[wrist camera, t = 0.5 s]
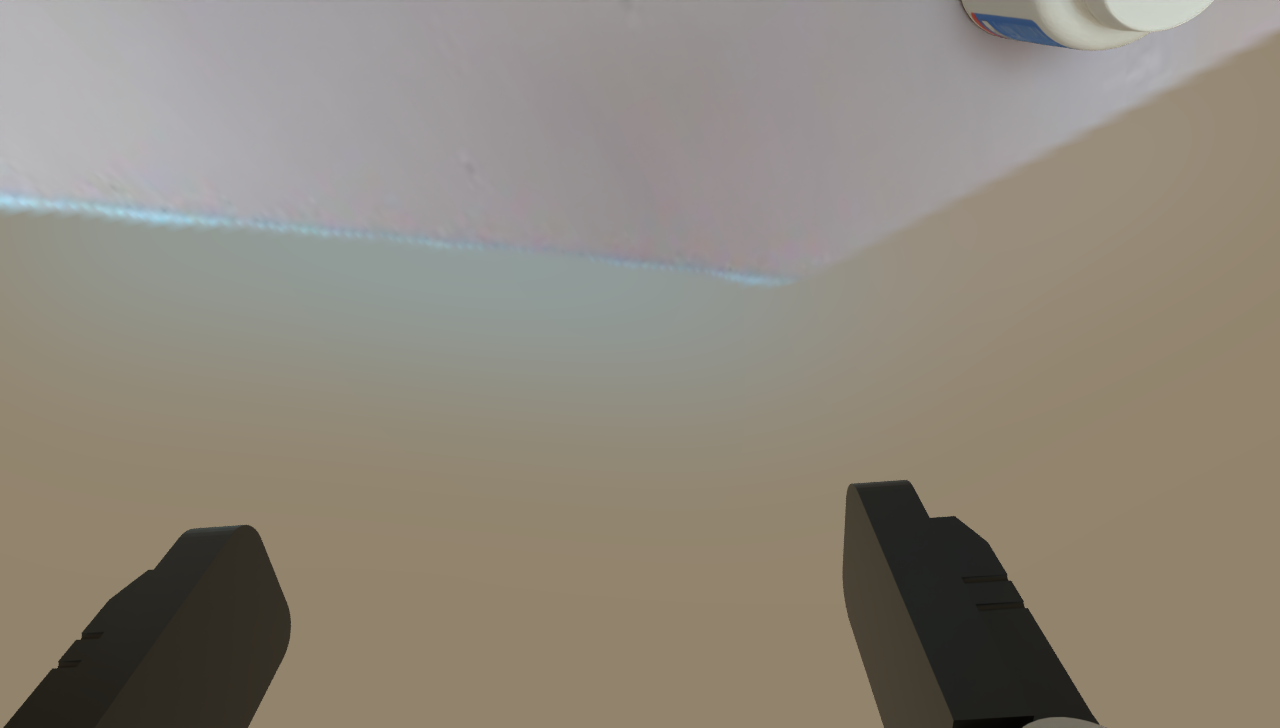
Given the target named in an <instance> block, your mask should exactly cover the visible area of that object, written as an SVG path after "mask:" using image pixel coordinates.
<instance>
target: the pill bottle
mask: <svg viewBox="0 0 1280 728" xmlns="http://www.w3.org/2000/svg"><path fill="white" fill-rule="evenodd" d="M1213 1H1214V0H962V3H963V6H964V8H965V10H966V12H967V13H968V15H969V16H970V18H971V19H972V20H973V21H974V23H976V24H977V25H978V26H979V27H980V28H982V29H983V30H985V31H987V32H988V33H991V34H993V35H996V36H999V37H1002V38H1007V39H1013V40H1019V41H1026V42H1032V43H1038V44H1043V45H1050V46H1058V47H1065V48H1071V49H1078V50H1107V49H1113V48H1117V47H1121V46H1124V45H1127V44H1129V43H1132V42H1134V41H1136V40H1138V39H1140V38H1142V37H1144V36H1145V35H1147V34H1149V33H1150V32H1157V31H1163V30H1168V29H1171V28H1174V27H1177V26H1179V25H1181V24H1183V23H1185V22H1187V21H1189V20H1191V19H1192V18H1194V17H1195V16H1197V15H1198V14H1200V13H1201V12H1202V11H1203V10H1205V9H1206V8H1207V7H1208V6H1209V5H1210V4H1211V3H1212V2H1213Z"/></svg>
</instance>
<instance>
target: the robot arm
mask: <svg viewBox="0 0 1280 728" xmlns="http://www.w3.org/2000/svg"><path fill="white" fill-rule="evenodd" d="M843 588H844V597H845V603H846V608H847V613H848V617H849V621H850V623H851V627H852V630H853V633H854V636H855V639H856V642H857V645H858V648H859V651H860V654H861V658H862V661H863V664H864V667H865V670H866V673H867V676H868V679H869V682H870V685H871V688H872V692H873V695H874V697H875V701H876V704H877V707H878V710H879V713H880V716H881V719H882V722H883V725H884V728H1106V727H1104V726H1100V725H1099V723H1098V722H1097V720H1096V719H1095V717H1094V716H1093V715H1092V713H1091V711H1090V710H1089V708H1088V706H1087V705H1086V703H1085V702H1084V700H1083V698H1082V697H1081V695H1080V693H1079V692H1078V691H1077V688H1076V687H1075V685H1074V683H1073V682H1072V680H1071V679H1070V677H1069V675H1068V674H1067V672H1066V670H1065V669H1064V667H1063V665H1062V664H1061V662H1060V661H1059V659H1058V658H1057V655H1056V654H1055V652H1054V651H1053V649H1052V647H1051V646H1050V644H1049V642H1048V641H1047V639H1046V637H1045V636H1044V634H1043V632H1042V631H1041V629H1040V628H1039V626H1038V624H1037V623H1036V621H1035V620H1034V618H1033V616H1032V614H1031V613H1030V611H1029V609H1028V608H1025V607H1024V604H1023V602H1024V601H1023V599H1022V598H1021V596H1020V595H1019V593H1018V591H1017V590H1016V588H1015V586H1014V585H1013V583H1012V581H1008V579H1007V573H1006V572H1005V570H1004V569H1003V567H1002V565H1001V563H1000V562H999V560H998V558H997V557H996V555H995V553H994V552H993V551H992V548H991V547H990V545H989V544H988V542H987V541H985V540H984V539H983V538H982V537H980V536H979V535H978V534H977V533H975V532H974V531H973V530H972V529H970V528H969V527H968V526H966V525H965V524H964V523H963V522H961V521H960V520H959V519H957V518H956V517H955V516H951V517H937V518H929V516H928V514H927V512H926V510H925V508H924V506H923V504H922V502H921V501H920V499H919V497H918V495H917V493H916V491H915V489H914V488H913V486H912V484H911V483H910V482H909V481H907V480H899V481H884V482H870V483H856V484H850V485H849V487H848V490H847V496H846V515H845V535H844V554H843ZM290 630H291V620H290V612H289V608H288V605H287V602H286V600H285V597H284V595H283V592H282V590H281V587H280V585H279V582H278V580H277V577H276V575H275V572H274V570H273V567H272V565H271V562H270V560H269V557H268V555H267V552H266V550H265V547H264V545H263V542H262V540H261V537H260V535H259V534H258V532H257V531H256V530H255V529H254V528H253V527H251V526H249V525H238V526H224V527H210V528H198V529H197V528H196V529H190V530H188V531H186V532H185V533H184V534H182V535H181V537H180V538H179V539H178V540H177V541H176V543H175V544H174V545H173V546H172V548H171V549H170V550H169V551H168V553H167V554H166V555H165V556H164V558H163V559H162V560H161V561H160V563H159V564H158V565H157V566H156V568H155V569H154V570H148V571H146V572H145V573H144V574H142V575H141V576H140V577H138V578H137V579H136V580H135V581H133V582H132V583H131V584H129V585H128V586H127V587H125V588H124V589H123V590H121V591H120V592H119V593H118V594H116V595H115V596H114V597H112V598H111V599H110V600H109V601H108V602H107V603H106V604H105V606H104V607H103V608H102V609H101V610H100V612H99V613H98V614H97V615H96V617H95V618H94V619H93V620H92V621H91V623H90V624H89V625H88V626H87V627H86V629H85V630H84V631H83V632H82V638H81V640H76V641H75V642H74V643H73V644H72V646H71V647H70V648H69V649H68V650H67V652H66V653H65V654H64V655H63V656H62V658H61V659H60V660H59V661H58V662H59V666H58V668H57V669H52V670H51V671H50V672H49V673H48V675H47V676H46V677H45V678H44V679H43V681H42V682H41V683H40V684H39V685H38V686H37V688H36V689H35V690H34V691H33V693H32V694H31V695H30V696H29V697H28V699H27V700H26V701H25V702H24V703H23V705H22V706H21V707H20V708H19V709H18V711H17V712H16V713H15V714H14V716H13V717H12V718H11V719H10V721H9V722H8V723H7V724H6V725H5V726H4V728H248V726H249V724H250V722H251V720H252V718H253V716H254V715H255V713H256V711H257V709H258V707H259V705H260V703H261V701H262V699H263V697H264V695H265V693H266V691H267V689H268V687H269V685H270V683H271V681H272V679H273V677H274V675H275V673H276V671H277V669H278V667H279V665H280V663H281V661H282V659H283V657H284V655H285V653H286V650H287V647H288V643H289V639H290Z"/></svg>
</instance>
